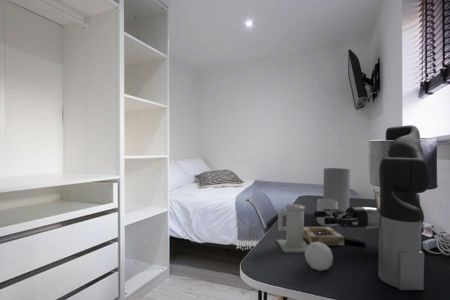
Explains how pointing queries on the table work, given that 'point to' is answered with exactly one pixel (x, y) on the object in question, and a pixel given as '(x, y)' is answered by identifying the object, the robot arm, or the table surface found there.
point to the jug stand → (323, 236)
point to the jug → (293, 225)
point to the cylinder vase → (337, 186)
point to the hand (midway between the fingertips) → (319, 217)
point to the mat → (290, 249)
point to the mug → (326, 205)
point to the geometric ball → (318, 256)
